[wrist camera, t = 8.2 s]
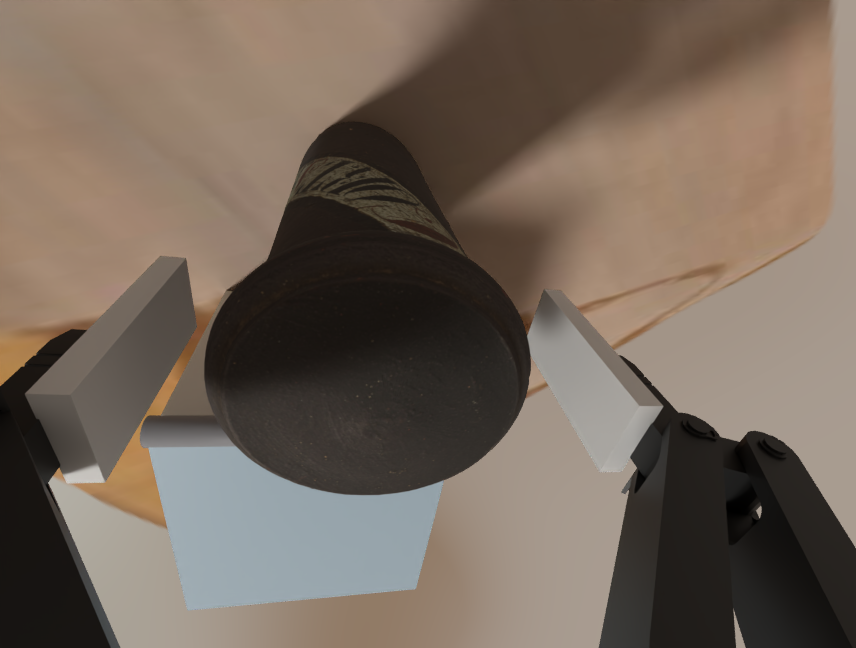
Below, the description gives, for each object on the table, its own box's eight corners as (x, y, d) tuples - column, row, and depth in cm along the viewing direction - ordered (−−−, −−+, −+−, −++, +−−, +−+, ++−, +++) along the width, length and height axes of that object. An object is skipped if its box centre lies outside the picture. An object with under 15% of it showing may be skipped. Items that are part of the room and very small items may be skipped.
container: (395, 92, 24) (496, 186, 7) (446, 227, 29) (573, 460, 12) (264, 154, 24) (86, 367, 8) (336, 275, 29) (319, 555, 13)
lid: (415, 569, 29) (418, 590, 27) (190, 588, 25) (183, 612, 24) (455, 411, 22) (461, 430, 20) (151, 409, 18) (137, 431, 17)
